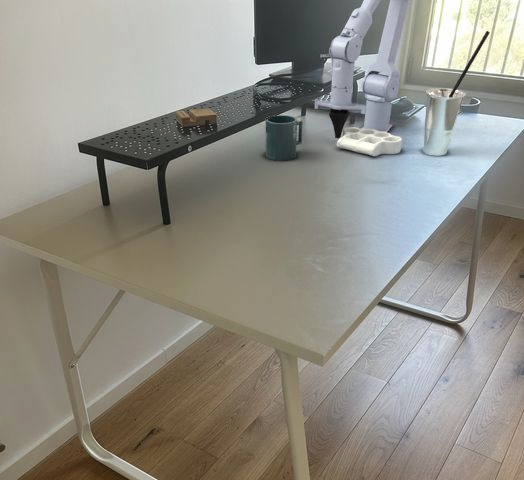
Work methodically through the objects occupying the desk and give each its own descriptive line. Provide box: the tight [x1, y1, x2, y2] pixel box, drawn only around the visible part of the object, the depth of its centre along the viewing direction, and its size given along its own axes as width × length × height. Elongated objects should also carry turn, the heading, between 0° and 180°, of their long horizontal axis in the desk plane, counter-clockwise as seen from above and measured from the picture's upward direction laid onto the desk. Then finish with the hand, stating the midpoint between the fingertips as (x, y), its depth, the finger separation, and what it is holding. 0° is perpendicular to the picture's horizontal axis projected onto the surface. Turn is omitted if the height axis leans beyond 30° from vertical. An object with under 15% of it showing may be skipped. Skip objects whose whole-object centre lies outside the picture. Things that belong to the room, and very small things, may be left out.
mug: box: [265, 114, 303, 162], centre depth 150 cm, size 11×8×10 cm
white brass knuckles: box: [336, 126, 403, 157], centre depth 156 cm, size 3×18×15 cm
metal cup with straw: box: [422, 30, 491, 157], centre depth 144 cm, size 11×11×30 cm
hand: (338, 137), depth 160 cm, fingers closed
